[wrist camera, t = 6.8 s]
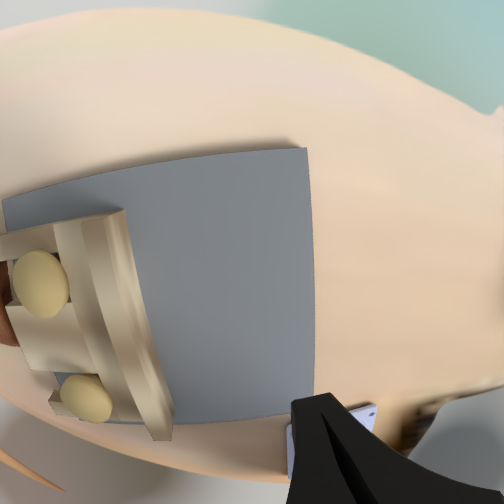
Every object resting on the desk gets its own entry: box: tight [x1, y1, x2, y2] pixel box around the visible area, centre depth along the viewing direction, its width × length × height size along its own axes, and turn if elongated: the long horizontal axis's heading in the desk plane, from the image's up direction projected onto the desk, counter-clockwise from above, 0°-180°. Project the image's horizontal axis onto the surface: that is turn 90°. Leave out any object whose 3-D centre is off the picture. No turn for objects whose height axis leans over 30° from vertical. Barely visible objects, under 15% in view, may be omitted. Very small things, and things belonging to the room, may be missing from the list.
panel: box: [0, 209, 175, 441], centre depth 15 cm, size 14×10×3 cm
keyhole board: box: [2, 147, 315, 425], centre depth 16 cm, size 18×19×4 cm
